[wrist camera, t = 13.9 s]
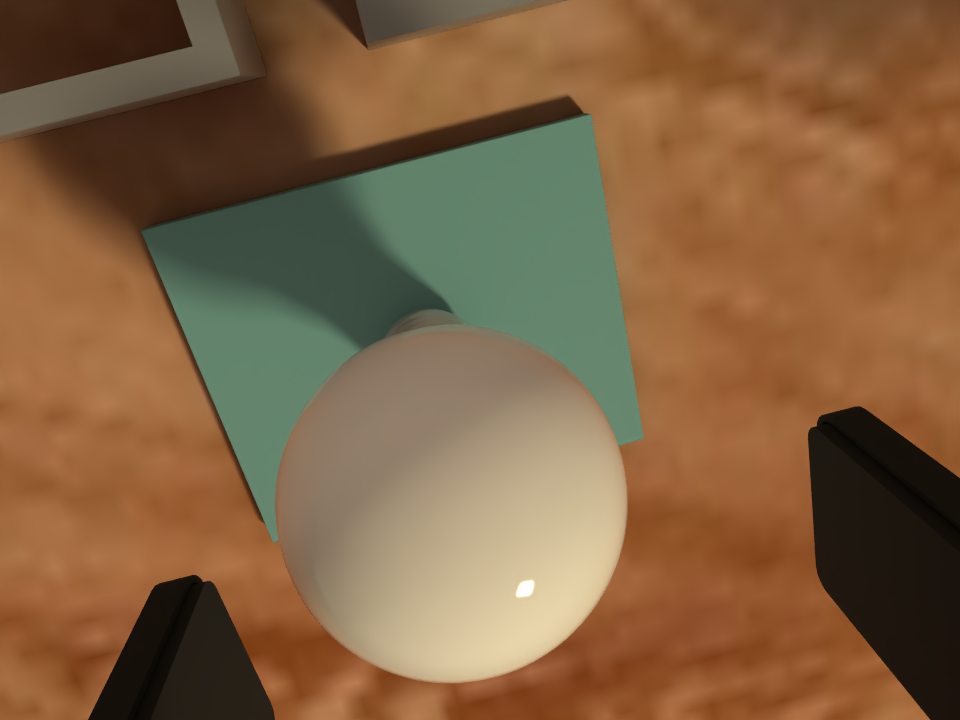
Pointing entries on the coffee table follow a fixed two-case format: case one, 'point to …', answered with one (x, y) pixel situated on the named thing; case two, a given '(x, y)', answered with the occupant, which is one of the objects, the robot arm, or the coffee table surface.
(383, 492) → the lightbulb
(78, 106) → the box
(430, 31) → the box
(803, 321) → the coffee table surface
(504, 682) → the coffee table surface
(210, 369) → the mat
